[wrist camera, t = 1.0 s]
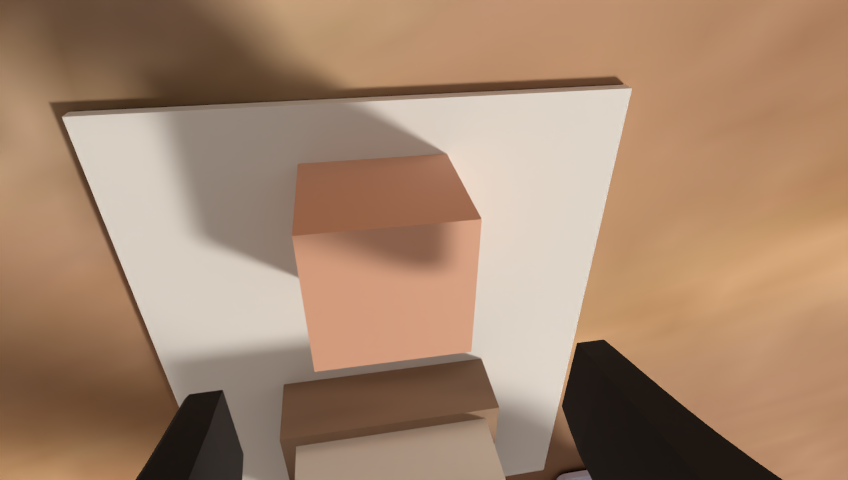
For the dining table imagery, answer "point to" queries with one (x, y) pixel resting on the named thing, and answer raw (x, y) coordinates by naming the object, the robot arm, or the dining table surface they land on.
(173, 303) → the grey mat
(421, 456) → the cream block
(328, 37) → the dining table surface
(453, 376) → the walnut base block
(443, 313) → the terracotta block
